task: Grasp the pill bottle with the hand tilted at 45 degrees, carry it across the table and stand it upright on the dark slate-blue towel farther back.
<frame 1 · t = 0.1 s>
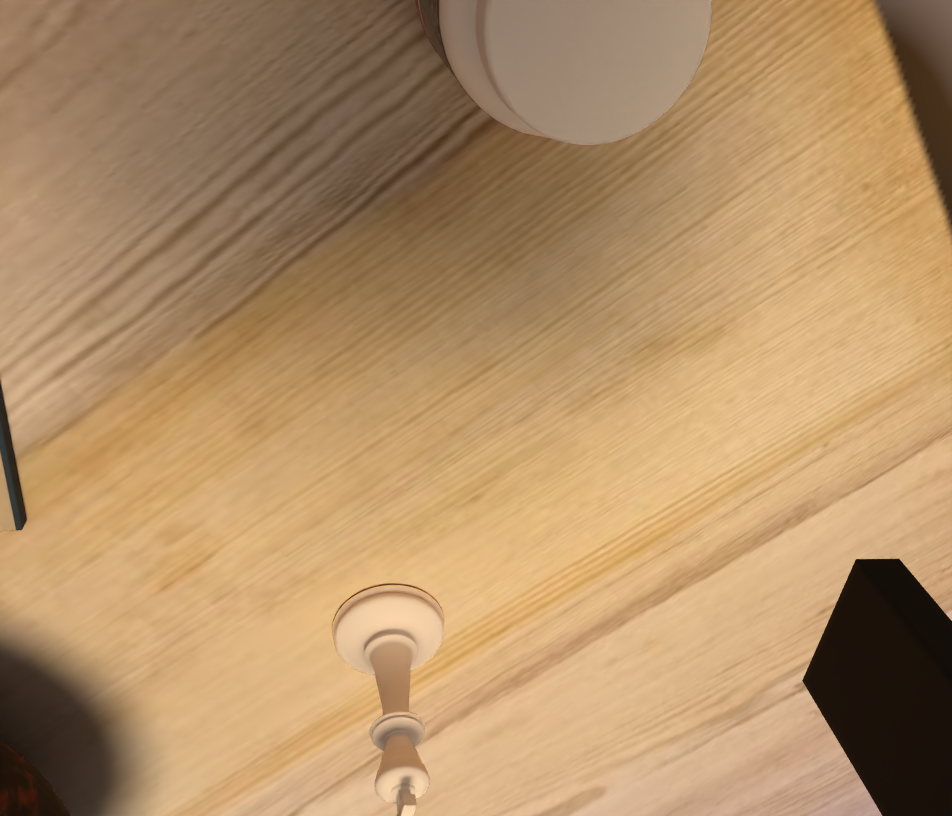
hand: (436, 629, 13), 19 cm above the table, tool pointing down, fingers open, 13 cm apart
chess piece: (388, 622, 38), on the table
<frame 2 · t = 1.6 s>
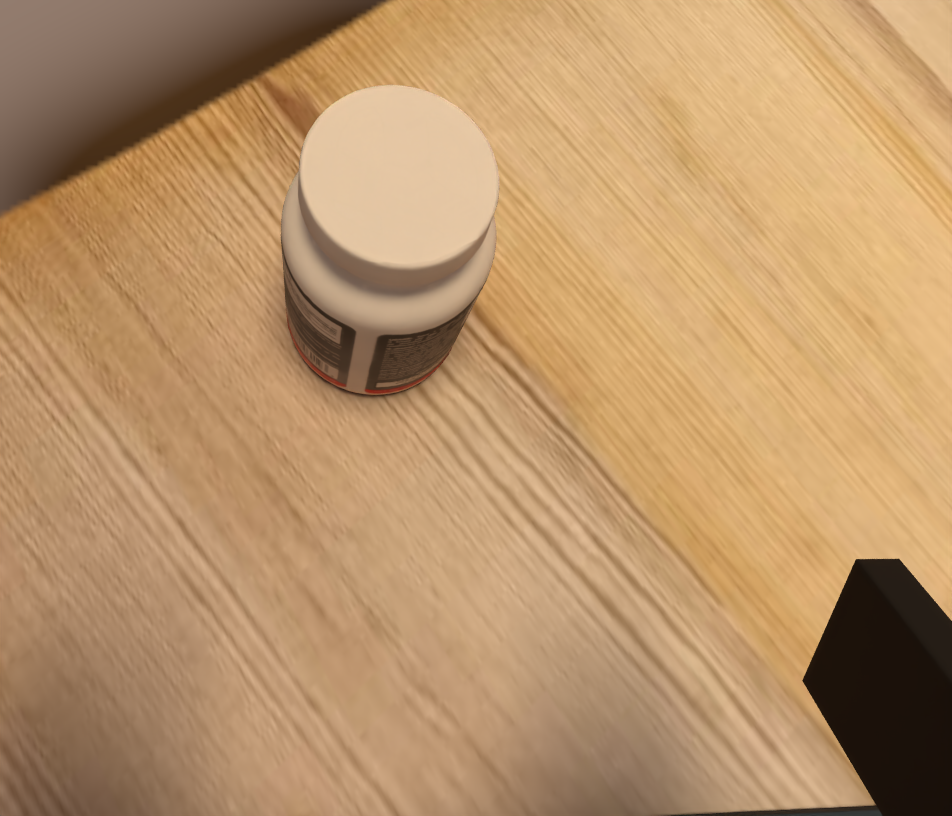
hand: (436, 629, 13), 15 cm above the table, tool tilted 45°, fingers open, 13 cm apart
pill bottle: (371, 319, 30), on the table
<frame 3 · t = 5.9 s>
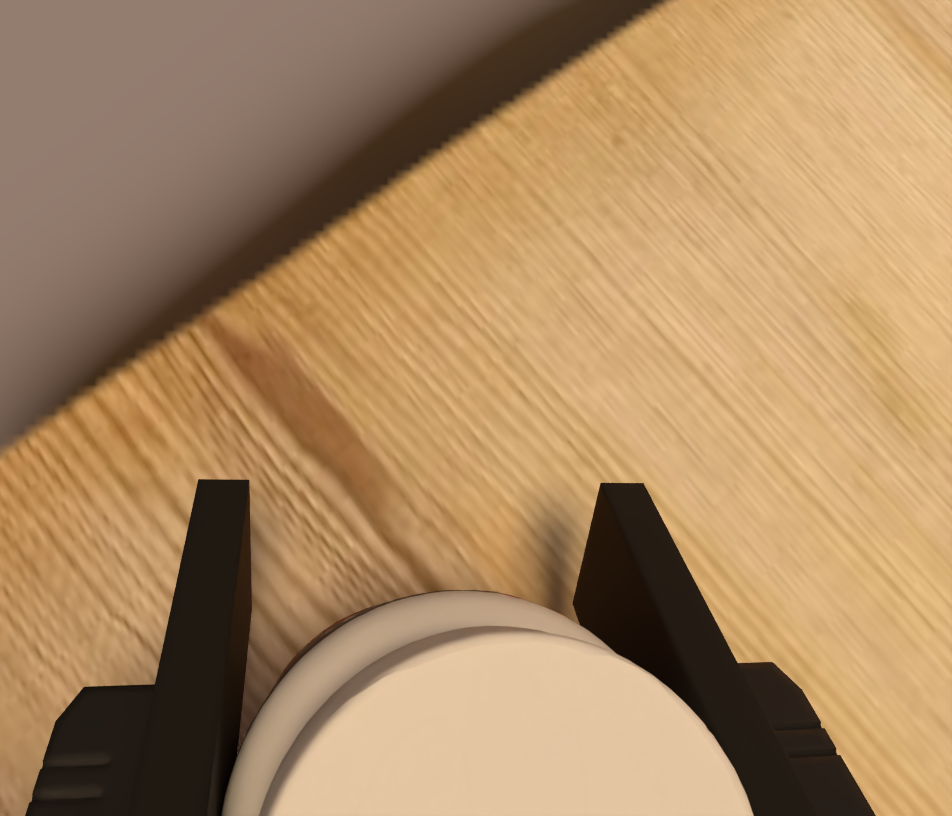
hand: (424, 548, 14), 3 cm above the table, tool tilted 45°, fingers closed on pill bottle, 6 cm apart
pill bottle: (402, 750, 17), on the table, touching gripper
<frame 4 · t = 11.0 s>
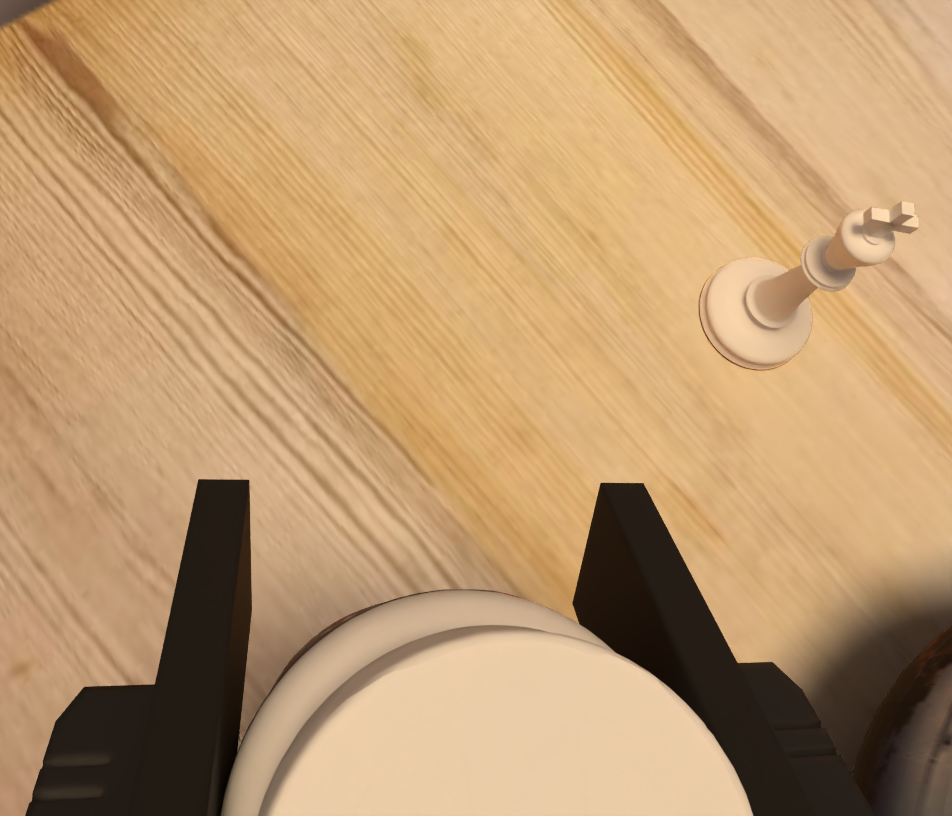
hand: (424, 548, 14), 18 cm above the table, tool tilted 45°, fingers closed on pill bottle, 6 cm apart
chess piece: (750, 316, 37), on the table
pill bottle: (402, 750, 17), point 14 cm above the table, touching gripper
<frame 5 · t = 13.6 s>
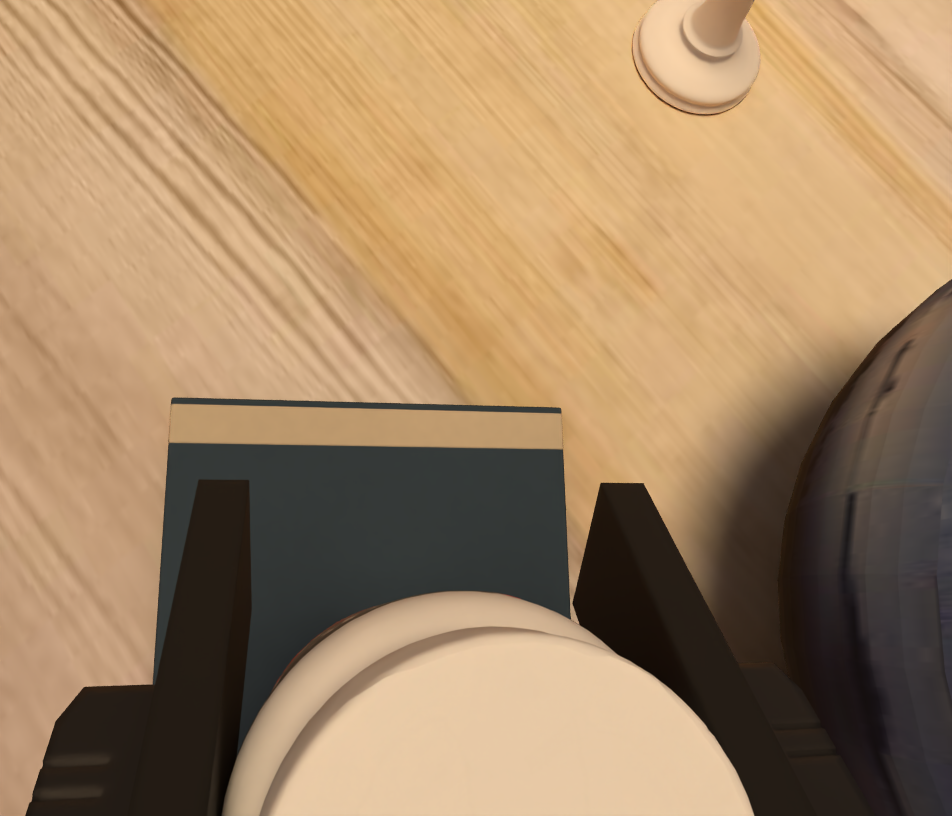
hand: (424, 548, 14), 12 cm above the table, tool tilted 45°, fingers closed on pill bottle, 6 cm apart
decorative sphere: (933, 622, 29), on the table
chess piece: (691, 60, 33), on the table
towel: (370, 707, 25), on the table
pill bottle: (402, 751, 17), point 9 cm above the table, touching gripper
when the fingers open (4 cm above the table, at t = 16.1 s): pill bottle stays where it is, resting on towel.
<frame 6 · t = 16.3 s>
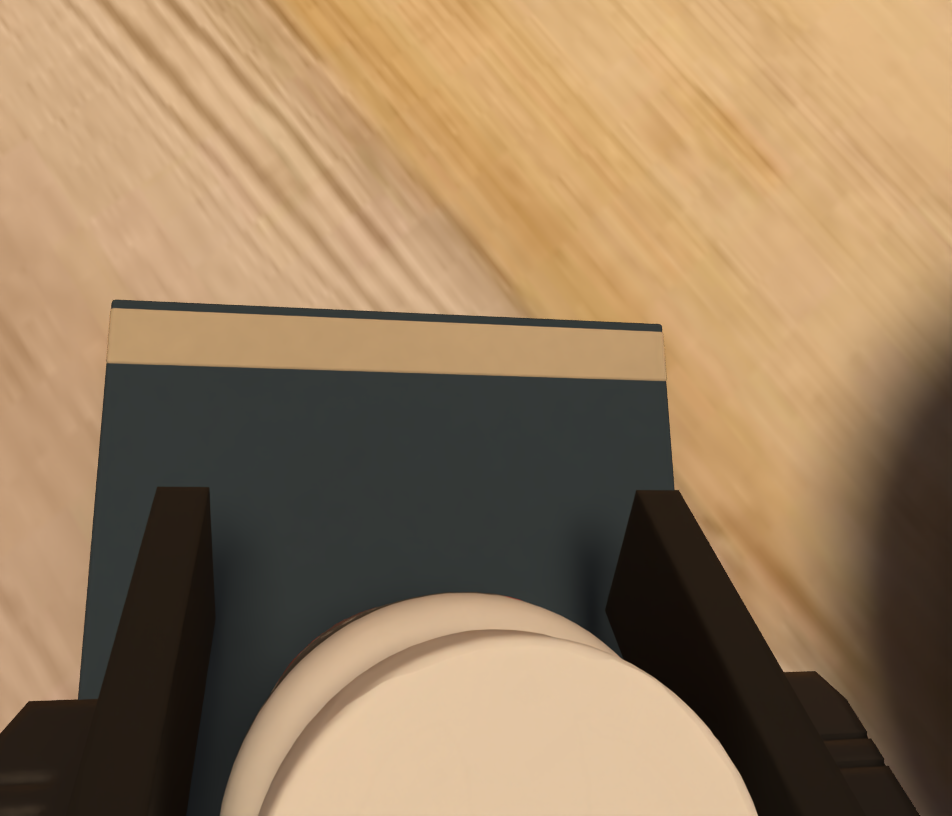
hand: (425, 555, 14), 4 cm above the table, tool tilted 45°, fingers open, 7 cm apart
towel: (400, 747, 17), on the table
pill bottle: (403, 753, 17), resting on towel
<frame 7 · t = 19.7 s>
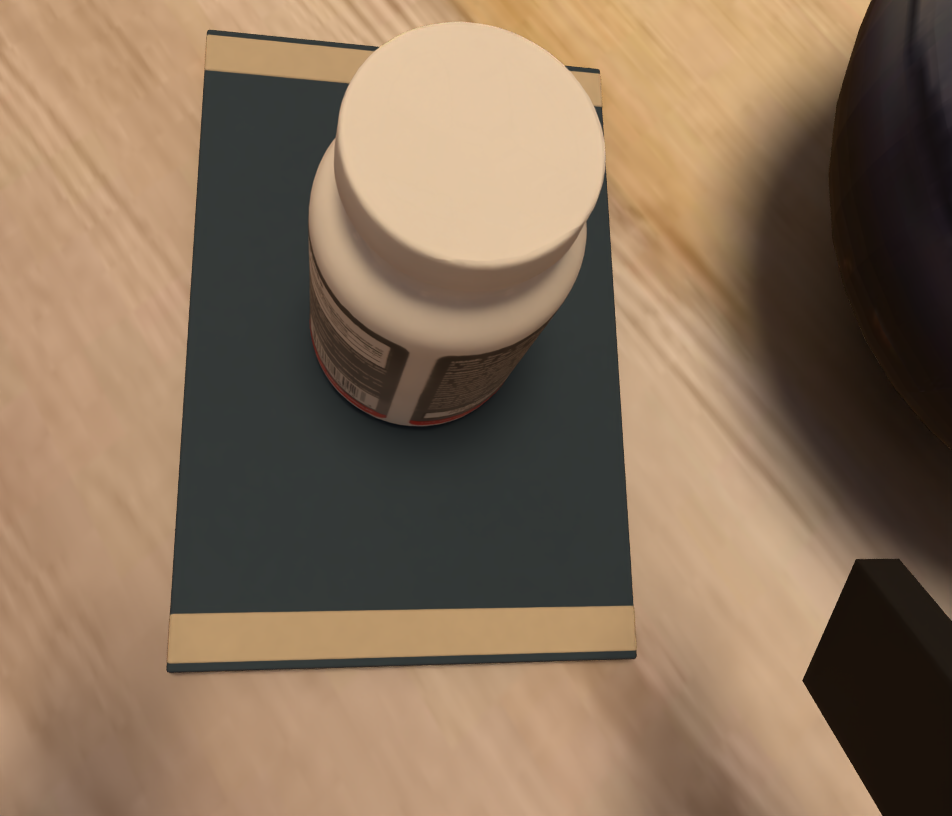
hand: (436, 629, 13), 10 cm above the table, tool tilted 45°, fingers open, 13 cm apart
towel: (410, 336, 25), on the table
pill bottle: (412, 333, 24), resting on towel
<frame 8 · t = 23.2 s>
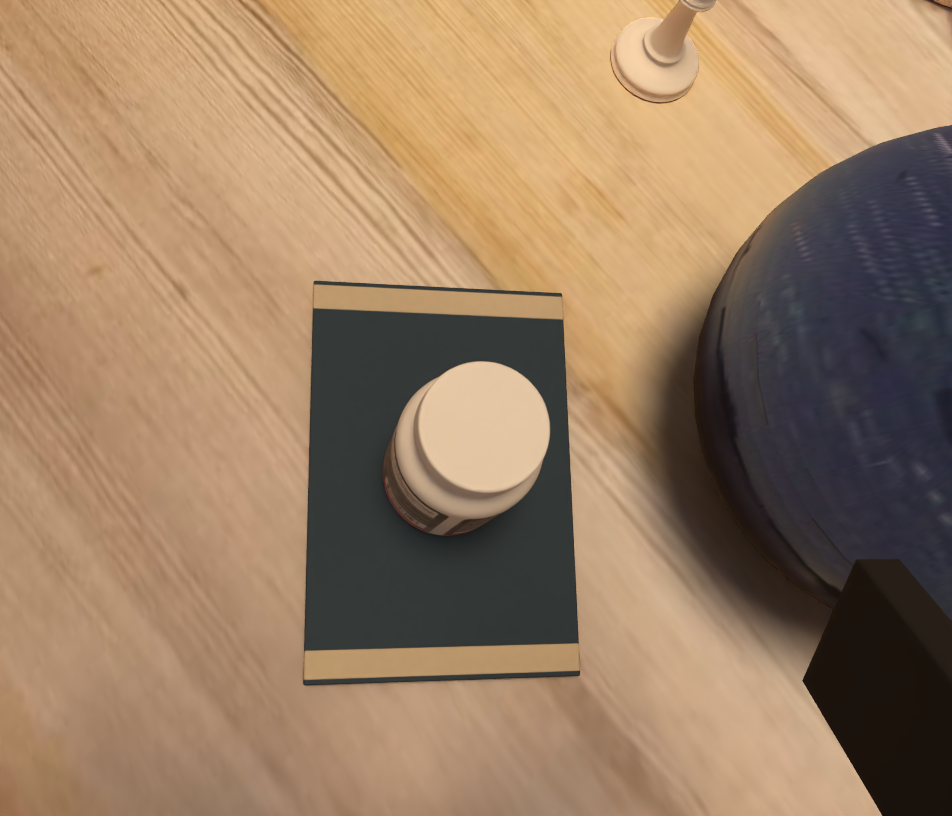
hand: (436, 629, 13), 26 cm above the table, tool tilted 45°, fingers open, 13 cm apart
decorative sphere: (810, 440, 44), on the table
chess piece: (651, 65, 48), on the table
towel: (441, 474, 40), on the table
pill bottle: (443, 474, 39), resting on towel
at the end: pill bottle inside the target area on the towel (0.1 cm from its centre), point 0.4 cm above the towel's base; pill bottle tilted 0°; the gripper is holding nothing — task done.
